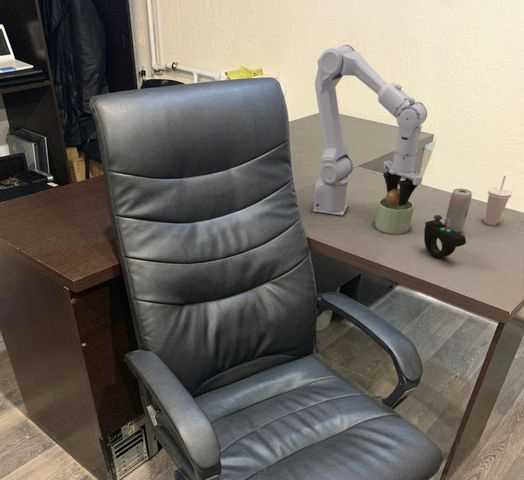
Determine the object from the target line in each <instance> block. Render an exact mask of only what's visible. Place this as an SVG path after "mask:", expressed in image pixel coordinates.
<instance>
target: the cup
mask: <svg viewBox="0 0 524 480" xmlns="http://www.w3.org/2000/svg"><path fill="white" fill-rule="evenodd" d="M414 209H415V204H414V202H413V201H412V200H410V199H409V200H408V202H407V204H406V205H403V206H399V207H391V206H389V205H388V204H387V202H386V196H385V197H382V198H380V199H379V200H378V202H377V208H376V214H375V220H374V227H375V229H377V230H378V231H380V232H383V233H387V234H393V235H400V234H404V233H407V232H408V231H410V228H411V223H412V218H413V213H414Z"/></svg>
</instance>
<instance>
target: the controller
mask: <svg viewBox="0 0 524 480" xmlns="http://www.w3.org/2000/svg"><path fill="white" fill-rule="evenodd" d="M442 219H443V216H441V215H439V214H435V215H434V216H433V220H427V221H425V223H424V225H425V226H424V229H423V230H424V232H423V243H424V246H425V249H426V251H427V252H428V253H429V254H430V255H431V256H433V257H435V258H440V259H441V258H445V257H448V256H451V255H452V254H453V253H454V252H455V250H456V249H457V247H458V248H459V247H462V246H464V245H466V243H467V240H466V236H465V235H463V234H462V233H461V234H459V233H458V232H456V231H454V230H452V229H450V228H449V227H448V226H446V225H444V223H443V222H442V221H441V220H442ZM438 240H439V241H440V243H441V249H440V248H439V246H438Z"/></svg>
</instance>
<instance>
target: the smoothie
mask: <svg viewBox="0 0 524 480" xmlns="http://www.w3.org/2000/svg"><path fill="white" fill-rule="evenodd" d="M506 178H507V175H503V177H502V180H501V184H500V187H490V188H489V189H488V191H487V194H488V197H487V202H486V209H485V214H484V215H485V216H484V224H486V225H489V226H497V225H498V224H499V221H500V220H501V216H502V214H503V213H504V210H505V208H506V206H507V203H508V202H509V200H510V198H511V197H512V194H513V193H512V191H511V190H509V189H508V188H504V184H505V182H506Z"/></svg>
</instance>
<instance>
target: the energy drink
mask: <svg viewBox="0 0 524 480" xmlns="http://www.w3.org/2000/svg"><path fill="white" fill-rule="evenodd" d="M472 194H473V192H472V191H471V190H469V189H466V188H455V189H453V191H452V192H451V195H450V199H449V203H448V207H447V212H446V215H445V219H444V223H443V224H444V225H446V226H448V227H449V228H450V229H452V230H454V231H456V232H458V233H459V234H461V235H462V233H463V231H464V227H465V224H466V218H467V216H468V212H469V209H470V205H471V201H472V197H473V195H472Z"/></svg>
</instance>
